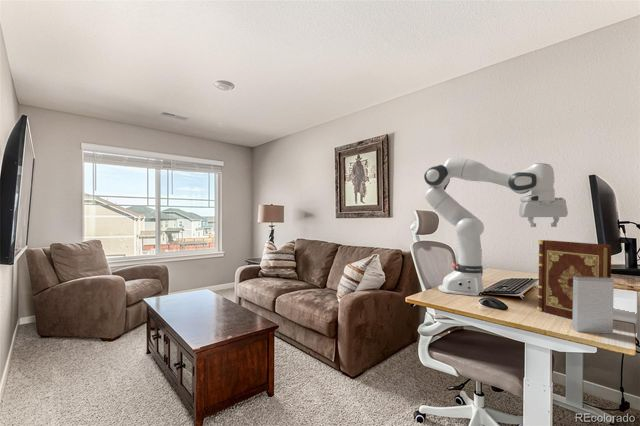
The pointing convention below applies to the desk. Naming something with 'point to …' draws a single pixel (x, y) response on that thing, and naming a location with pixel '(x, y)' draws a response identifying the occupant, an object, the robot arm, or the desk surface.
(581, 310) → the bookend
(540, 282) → the decorative book
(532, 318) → the desk surface
